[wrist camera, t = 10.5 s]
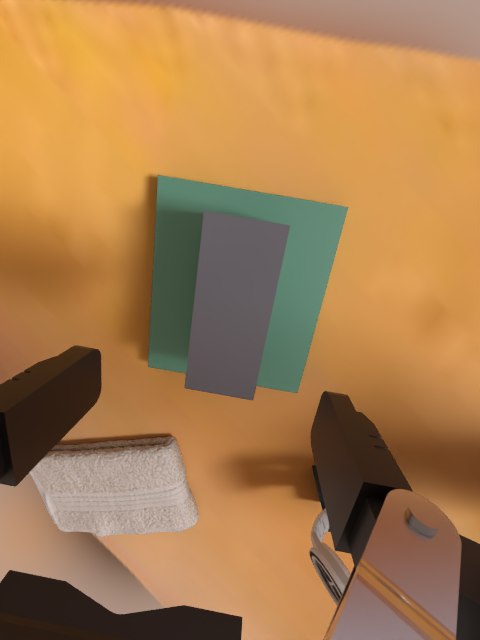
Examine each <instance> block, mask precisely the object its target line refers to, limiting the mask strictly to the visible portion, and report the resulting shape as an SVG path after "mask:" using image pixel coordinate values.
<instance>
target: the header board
mask: <svg viewBox="0 0 480 640" xmlns="http://www.w3.org/2000/svg"><path fill="white" fill-rule="evenodd" d="M347 210H348V207H344V206H338V205H332V204H326V203H320V202H314V201H308V200H302V199H297V198H291V197H285V196H279V195H273V194H267V193H261V192H255V191H249V190H243V189H237V188H232V187H226V186H220V185H214V184H208V183H202V182H196V181H190V180H184V179H178V178H172V177H167V176H161V175H158V184H157V204H156V223H155V242H154V261H153V280H152V300H151V319H150V338H149V357H148V367H152V368H157V369H163V370H169V371H174V372H180V373H186V370H187V361H188V352H189V343H190V334H191V325H192V316H193V307H194V297H195V288H196V279H197V270H198V261H199V252H200V243H201V234H202V225H203V216H204V211H210V212H216V213H222V214H228V215H233V216H239V217H245V218H251V219H256V220H262V221H268V222H274V223H279V224H285V225H290V230H289V234H288V239H287V244H286V248H285V253H284V258H283V262H282V267H281V272H280V276H279V281H278V286H277V291H276V295H275V300H274V305H273V309H272V314H271V319H270V323H269V328H268V333H267V337H266V342H265V347H264V351H263V356H262V361H261V365H260V370H259V375H258V380H257V384H256V386H259V387H265V388H271V389H276V390H282V391H288V392H293V393H298V389H299V386H300V382H301V378H302V375H303V371H304V367H305V364H306V360H307V356H308V353H309V349H310V345H311V342H312V338H313V334H314V331H315V327H316V323H317V320H318V316H319V312H320V309H321V305H322V301H323V298H324V294H325V290H326V287H327V283H328V279H329V276H330V272H331V268H332V265H333V261H334V257H335V254H336V250H337V246H338V243H339V239H340V235H341V232H342V228H343V224H344V221H345V217H346V213H347Z"/></svg>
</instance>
